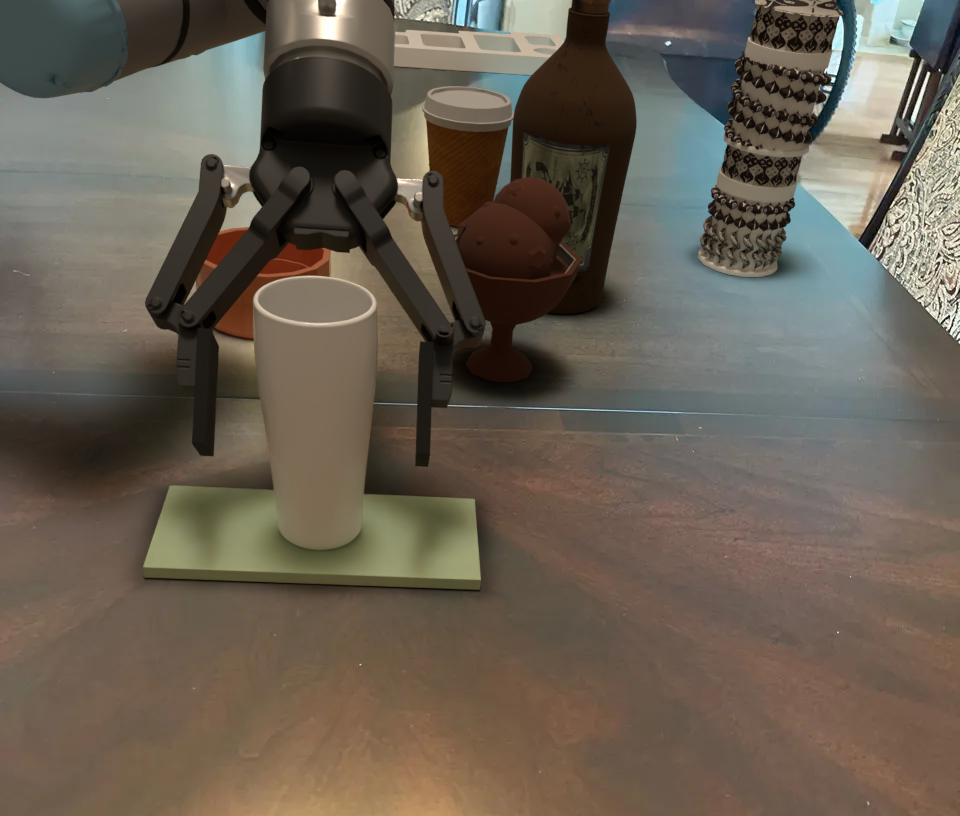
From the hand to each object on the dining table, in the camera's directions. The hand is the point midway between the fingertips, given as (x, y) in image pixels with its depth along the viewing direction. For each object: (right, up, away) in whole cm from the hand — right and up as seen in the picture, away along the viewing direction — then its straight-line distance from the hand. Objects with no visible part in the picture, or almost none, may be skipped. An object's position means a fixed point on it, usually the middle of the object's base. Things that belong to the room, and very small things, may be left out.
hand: (313, 456), depth 60 cm
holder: (+2, +86, +114) cm, 142 cm away
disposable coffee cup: (+7, +36, +55) cm, 66 cm away
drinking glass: (-1, -4, +7) cm, 8 cm away
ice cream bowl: (+11, +12, +28) cm, 32 cm away
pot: (-9, +18, +32) cm, 38 cm away
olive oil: (+16, +22, +41) cm, 49 cm away
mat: (-1, -4, +7) cm, 8 cm away
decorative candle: (+37, +29, +52) cm, 70 cm away
